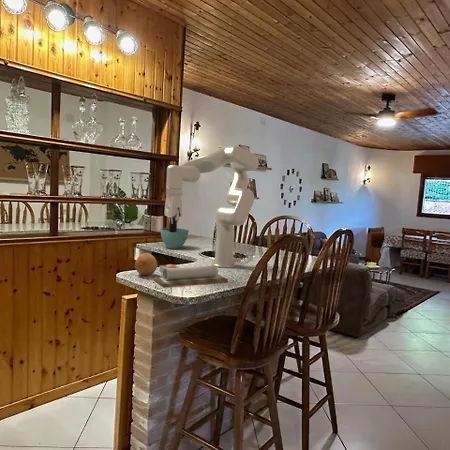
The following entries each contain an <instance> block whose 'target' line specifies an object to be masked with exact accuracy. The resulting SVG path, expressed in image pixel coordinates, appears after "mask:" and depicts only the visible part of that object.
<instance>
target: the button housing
mask: <svg viewBox="0 0 450 450" xmlns="http://www.w3.org/2000/svg"><path fill="white" fill-rule="evenodd" d="M166 265H167V264H166ZM166 265H159V272H161V273H162V274H163V269H164V268H166ZM174 265H175V268H181V267H180V266H179V265H177V264H174Z"/></svg>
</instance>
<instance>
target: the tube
mask: <svg viewBox="0 0 450 450" xmlns="http://www.w3.org/2000/svg"><path fill="white" fill-rule="evenodd" d="M217 274H218V275H219V269H218V267H216V266H213V265H207V266H206V265H205V266H187V267H186V266H184V267H180V268H164V269H163V273H162V277H163V280H165V281H167V280H176V279H191V278H205V277H215V276H217Z"/></svg>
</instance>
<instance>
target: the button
mask: <svg viewBox="0 0 450 450" xmlns="http://www.w3.org/2000/svg"><path fill="white" fill-rule="evenodd" d="M175 265H176V264H172V263H171V264H166V268H175Z"/></svg>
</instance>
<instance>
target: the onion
mask: <svg viewBox="0 0 450 450" xmlns="http://www.w3.org/2000/svg"><path fill="white" fill-rule="evenodd" d="M134 262H135V263H134V269H135V270H136V272H137V273H138V274H139V275H142V276H150V275H151V276H152V275H153V274H154V273H155V272H156V270H157V268H158V261H157V259H156V257H155V256H154V255H152V254H151V253H148V252H144V253H142V254H140V255H139V256H138V257H137V258H136V259H135V261H134Z"/></svg>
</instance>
